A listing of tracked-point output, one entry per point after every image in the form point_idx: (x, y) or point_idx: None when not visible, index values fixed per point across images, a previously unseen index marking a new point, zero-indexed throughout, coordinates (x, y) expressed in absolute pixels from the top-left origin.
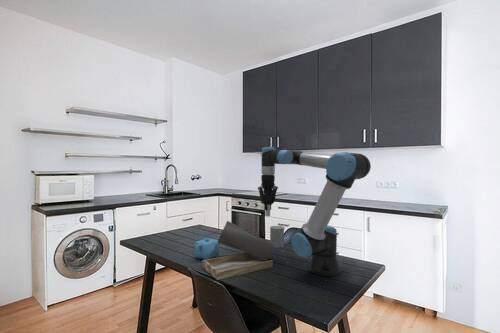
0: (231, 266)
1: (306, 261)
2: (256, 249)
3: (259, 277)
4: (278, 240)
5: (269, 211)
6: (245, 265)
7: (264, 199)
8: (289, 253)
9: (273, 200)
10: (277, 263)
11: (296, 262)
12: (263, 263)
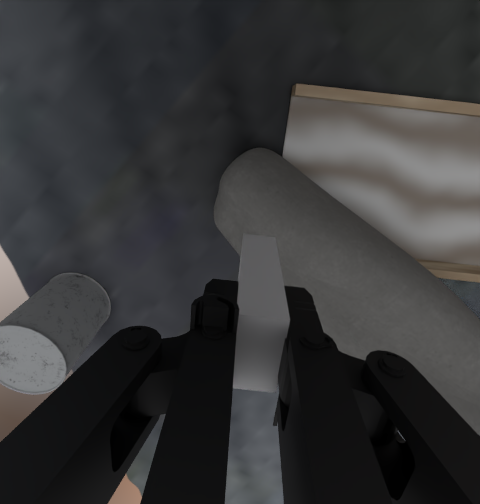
0: (441, 201)
1: (91, 34)
2: (327, 195)
3: (442, 17)
4: (72, 294)
5: (254, 259)
6: (388, 173)
7: (436, 438)
8: (94, 183)
9: (119, 370)
10: (240, 111)
11: (148, 58)
12: (358, 90)
